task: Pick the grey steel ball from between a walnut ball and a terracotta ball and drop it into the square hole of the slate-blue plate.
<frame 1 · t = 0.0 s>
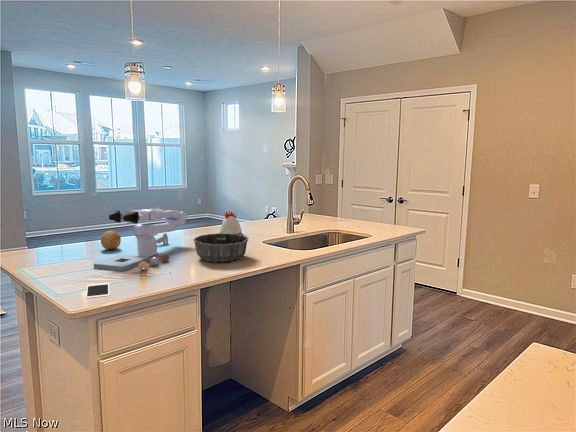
hand: (116, 217, 188), 22 cm above the countertop, tool horizontal, fingers open, 7 cm apart
walnut ball: (164, 257, 197), point 2 cm above the countertop
bundt pan: (221, 258, 205), on the countertop
terracotta ball: (143, 265, 182), point 2 cm above the countertop
onion: (111, 249, 221), on the countertop
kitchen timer: (230, 234, 264), on the countertop
steel ball: (154, 261, 189), point 2 cm above the countertop
cell phone: (98, 291, 156), on the countertop
hole plate: (122, 264, 192), on the countertop
caliper: (153, 247, 228), on the countertop
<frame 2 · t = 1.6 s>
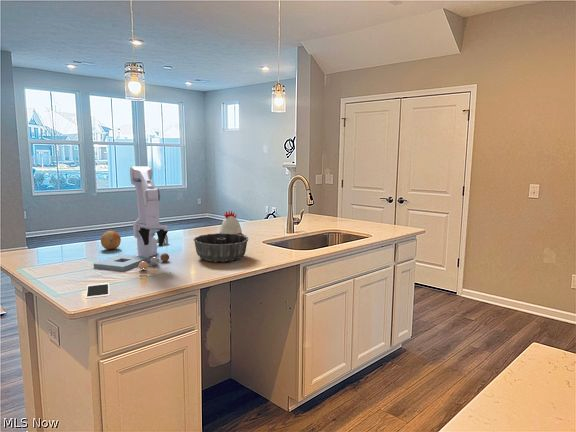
hand: (153, 245, 188), 9 cm above the countertop, tool pointing down, fingers open, 7 cm apart
nothing on the countertop moved.
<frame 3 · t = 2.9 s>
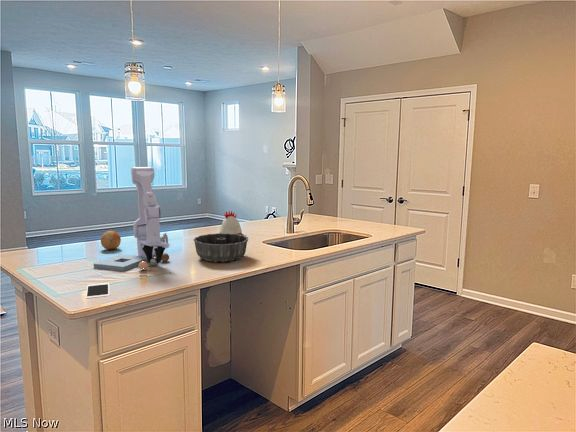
hand: (154, 262, 190), 2 cm above the countertop, tool pointing down, fingers closed on steel ball, 4 cm apart
steel ball: (154, 261, 189), point 2 cm above the countertop, touching gripper
everything else where it was.
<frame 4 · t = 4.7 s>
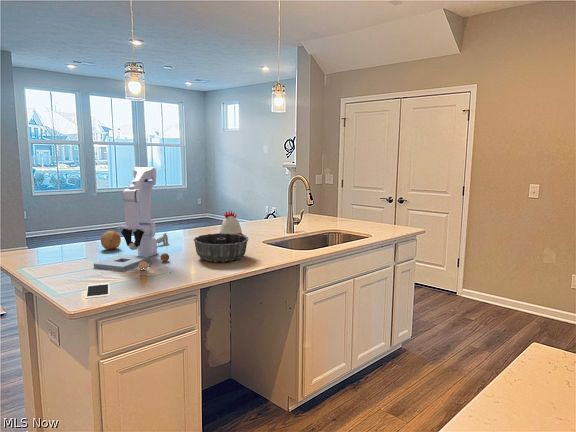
hand: (133, 245, 190), 9 cm above the countertop, tool pointing down, fingers closed on steel ball, 4 cm apart
steel ball: (133, 245, 190), point 9 cm above the countertop, tilted 6°, touching gripper
everything else where it was.
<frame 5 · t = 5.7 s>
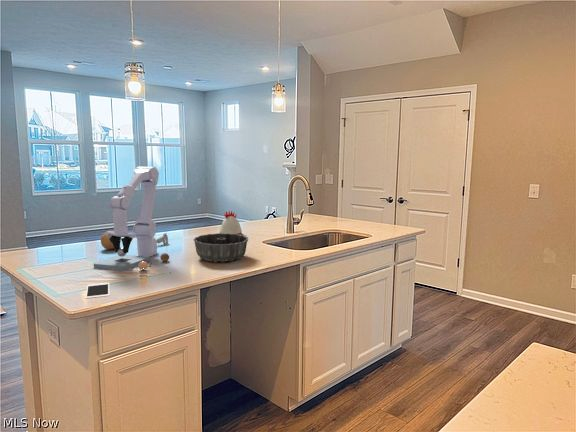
hand: (121, 252, 191), 6 cm above the countertop, tool pointing down, fingers closed on steel ball, 4 cm apart
steel ball: (121, 252, 191), point 6 cm above the countertop, tilted 8°, touching gripper
everything else where it was.
when the fingers open (4 cm above the countertop, at t = 6.3 s): steel ball drops 3 cm, point 2 cm above the countertop.
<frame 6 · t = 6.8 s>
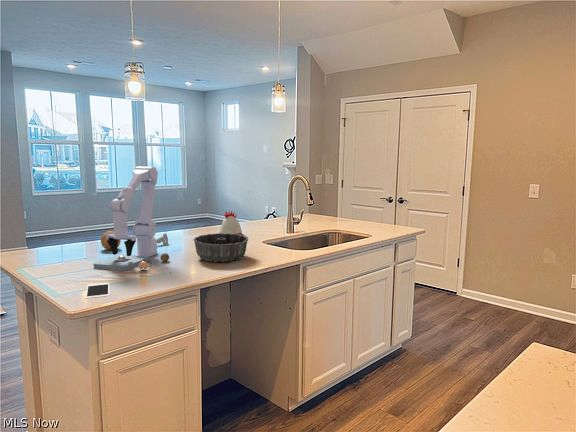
hand: (122, 255, 191), 4 cm above the countertop, tool pointing down, fingers open, 7 cm apart
steel ball: (121, 260, 191), point 2 cm above the countertop, tilted 19°
everything else where it was.
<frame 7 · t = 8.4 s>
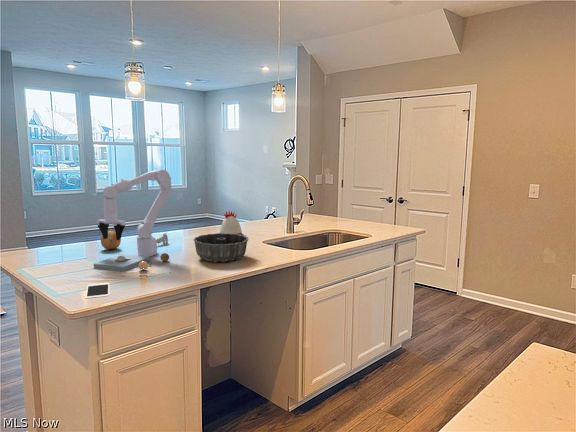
hand: (112, 239, 201), 9 cm above the countertop, tool pointing down, fingers open, 7 cm apart
steel ball: (121, 260, 191), point 2 cm above the countertop, tilted 29°
everything else where it was.
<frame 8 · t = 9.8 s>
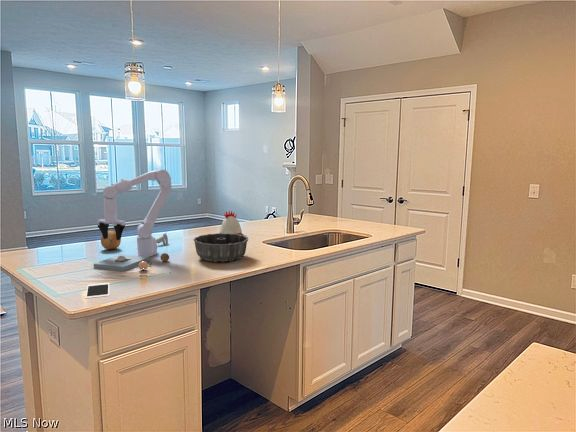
hand: (112, 239, 201), 9 cm above the countertop, tool pointing down, fingers open, 7 cm apart
nothing on the countertop moved.
at the end: steel ball 0.5 cm off-centre on the hole plate, point 2.0 cm above the hole plate's base; the gripper is holding nothing; walnut ball moved 0.0 cm from its start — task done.
